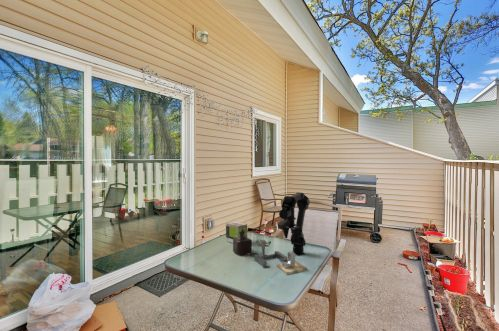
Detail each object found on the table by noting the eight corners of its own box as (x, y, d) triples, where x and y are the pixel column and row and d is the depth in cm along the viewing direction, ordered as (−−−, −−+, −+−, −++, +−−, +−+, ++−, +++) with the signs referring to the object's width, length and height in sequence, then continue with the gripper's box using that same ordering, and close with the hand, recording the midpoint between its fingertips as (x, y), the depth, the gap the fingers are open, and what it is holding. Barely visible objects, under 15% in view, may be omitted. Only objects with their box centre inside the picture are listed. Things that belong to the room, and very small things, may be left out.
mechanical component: (270, 256, 170) (270, 241, 169) (255, 255, 172) (255, 240, 172) (271, 254, 173) (271, 240, 172) (256, 253, 175) (256, 239, 174)
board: (295, 262, 159) (295, 260, 159) (307, 269, 148) (307, 267, 148) (275, 266, 153) (275, 264, 153) (286, 274, 142) (286, 272, 142)
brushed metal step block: (292, 264, 153) (291, 251, 152) (294, 266, 150) (294, 253, 150) (282, 266, 150) (281, 253, 150) (284, 268, 147) (284, 255, 147)
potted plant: (231, 251, 180) (231, 226, 180) (245, 248, 185) (245, 224, 185) (240, 258, 166) (240, 231, 166) (255, 255, 171) (255, 229, 171)
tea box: (247, 242, 199) (247, 223, 199) (238, 245, 192) (238, 226, 191) (234, 238, 209) (234, 220, 209) (225, 241, 202) (225, 223, 202)
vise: (277, 256, 170) (277, 250, 170) (287, 262, 159) (287, 257, 159) (254, 260, 163) (254, 255, 163) (263, 267, 152) (263, 261, 152)
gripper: (271, 214, 167) (271, 238, 167) (287, 220, 150) (287, 246, 150) (286, 212, 171) (286, 235, 172) (302, 218, 154) (303, 243, 155)
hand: (290, 240), depth 162 cm, fingers open, 9 cm apart
